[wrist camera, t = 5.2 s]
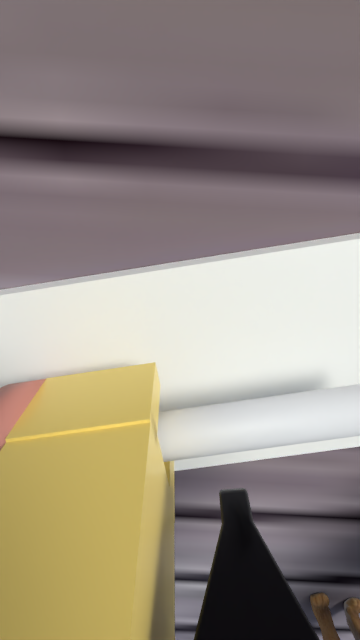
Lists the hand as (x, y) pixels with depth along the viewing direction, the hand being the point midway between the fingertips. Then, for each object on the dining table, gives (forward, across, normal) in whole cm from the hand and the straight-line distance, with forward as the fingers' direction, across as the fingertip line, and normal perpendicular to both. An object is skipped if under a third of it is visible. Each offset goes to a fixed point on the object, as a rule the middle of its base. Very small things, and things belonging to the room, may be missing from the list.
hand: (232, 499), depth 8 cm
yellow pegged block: (+4, +4, 0) cm, 6 cm away
